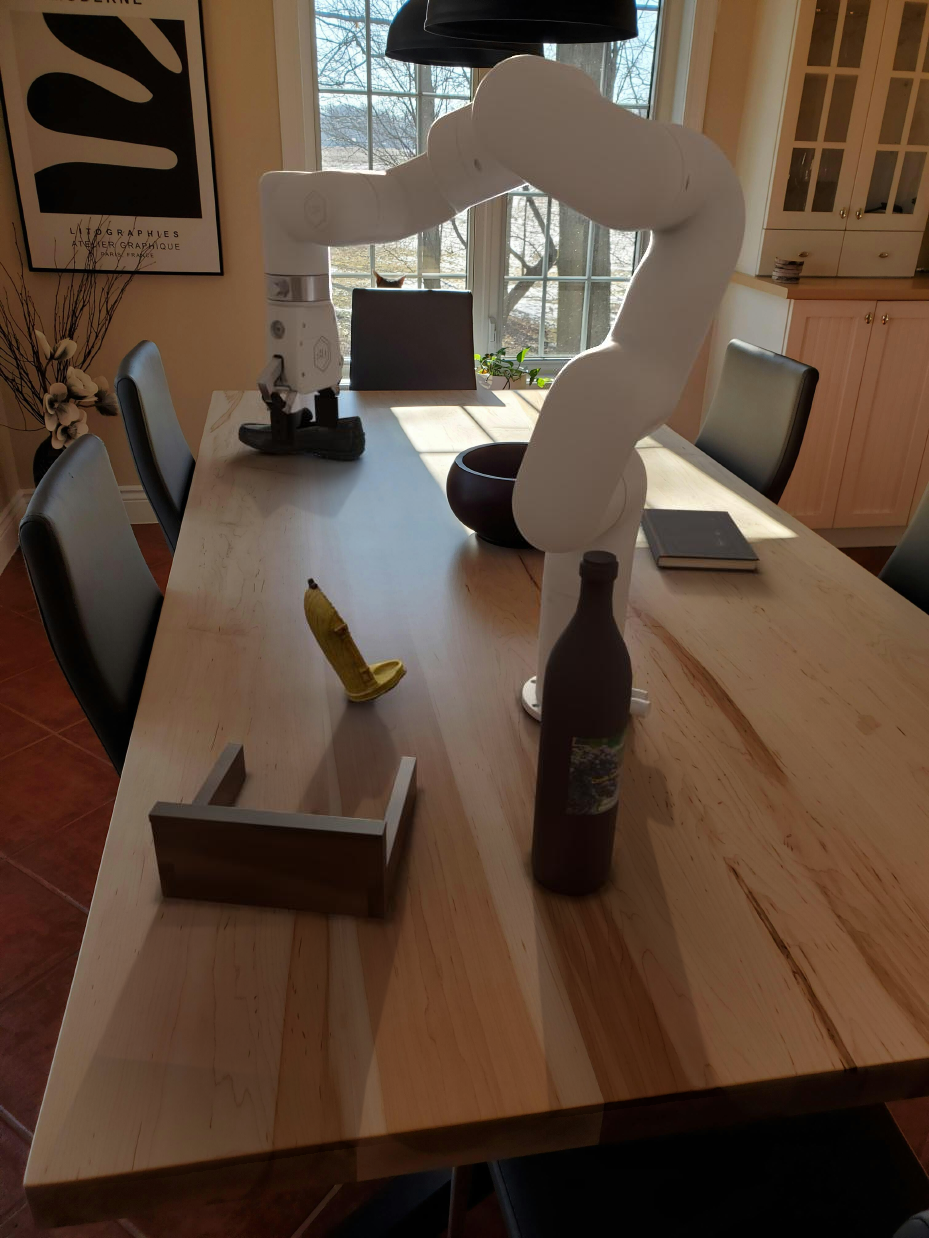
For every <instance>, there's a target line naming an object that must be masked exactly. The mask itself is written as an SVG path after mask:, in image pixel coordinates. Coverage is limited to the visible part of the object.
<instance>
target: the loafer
mask: <svg viewBox="0 0 929 1238" xmlns="http://www.w3.org/2000/svg"><path fill="white" fill-rule="evenodd" d="M294 412H295V419H296V435H297V444H296V445H295V446H286V445H279V444H274V443H273V442H272V435H271V423H257V422H244V423H242V424H240V426H239V428H238V432H237V435H238V440H239V442H241V443H242V444H244V445H245V446H247V447H250V448H252V449H254V450H258V451H260V452H264V453H268V454H273V455H283V456H290V455H295V454H296V455H297V454H310V455H315V456H318V457H320V458H323V459H329V460H336V461H339V460H341V461H346V462H348V461H352V460H355V459H357V458H360V457H362V455H363V454H364V452H365V450H366V437H365V436H366V432H365V431H364V428H363V422H362V419H361V417H360V415H355V416H354V415H353V416H348V417H339V427H338V428H335V429H334V428H326V427H319V426H317V425H316V422H315V420H313V419H314V415H313V412H312V411H311V410H310V408H308V407H307V406H305V407H302V408H300V409H297V410H296V411H294Z"/></svg>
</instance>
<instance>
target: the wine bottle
mask: <svg viewBox="0 0 929 1238" xmlns="http://www.w3.org/2000/svg"><path fill="white" fill-rule="evenodd" d="M616 559H617V558H616V556H615V555H614V554H612V553H610V552H607V551H600V550H594V551H588V552H586V553H584V554H583V558H581V559H580V565H579V575H580V577H581V586H580V596H579V600H578V604H577V609H576V612H575V613H574V615H573V617H572V619H571V620H570V622H569V624H568V625H567V626H566V628H565V629H564V630H563V632H562V633H561V635H560V636H559V637H558V639H557V641H556V643H555V644H554V646H553V648H552V650H551V652H550V655H549V658H548V661H547V664H546V668H545V675H544V682H543V694H542V708H541V721H540V723H539V725H540V726H539V737H538V741H539V742H538V753H537V767H536V778H535V779H536V780H535V795H534V808H533V809H534V810H533V812H534V813H533V821H532V822H533V823H532V836H531V837H532V838H531V851H530V865H531V869H532V873H533V875H534V877H535V878H536V879H537V880H538V882H539V883H541V884H542V885H543V886H544V887H546V888H547V889H549V890H551V891H554V892H556V893H560V894H564V895H574V896H576V895H577V896H578V895H587V894H590V893H592V892H595V891H597V890H599V889H600V888H601V887H602V886H604V885H605V883H606V882H607V880H608V878H609V876H610V873H611V867H612V860H613V853H614V843H615V834H616V827H617V819H618V810H619V802H620V793H621V786H622V777H623V770H624V761H625V752H626V746H627V745H626V743H627V736H628V728H629V720H630V713H629V712H630V704H631V696H632V688H633V677H634V675H633V668H632V659H631V656H630V652H629V651H628V646H627V644H626V641H625V640H624V638H622V636H621V634H620V632H619V629H618V627H617V624H616V621H615V618H614V616H613V601H612V597H613V587H614V580H615V579H616V578H617V576H618V567H619V563H618V561H617V560H616Z"/></svg>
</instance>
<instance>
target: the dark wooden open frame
mask: <svg viewBox="0 0 929 1238" xmlns="http://www.w3.org/2000/svg"><path fill="white" fill-rule="evenodd" d="M417 763H418V758H417V757H410V756H401V759H400V762H399V765H398V769H397V772H396V776H395V779H394V782H393V785H392V789H391V792H390V796H389V799H388V802H387V806H386V810H385V812H384V816H383V819H382V820H379V819H369V818H355V817H346V816H345V817H344V816H333V815H322V814H321V815H320V814H311V813H298V812H289V811H276V810H265V809H253V808H242V807H231V805H232V803H233V802H234V800H235V798H236V796H237V794H238V792H239V791H240V788H241V787H242V785H243V783H244V781H245V779H246V778H247V770H246V761H245V750H244V744H243V743H238V742H237V743H236V742H228V743H227V745H226V746H225V748H224V749H223V751H222V753H221V755H220V756H219V758H218V759H217V761H216V763H215V764H214V766H213V768H212V769H211V771H210V772H209V774H208V776H207V777H206V779H205V781H204V782H203V784H202V785H201V787H200V789H199V790H198V791H197V794H196V795H195V796H194V798H193V800H192V801H191V803H186V802H185V803H182V802H171V801H159V800H157V801H156V802H155V804H154V805H153V807H152V808H151V810H150V811H149V812H148V815H147V817H148V822H149V823H150V827H151V834H152V838H153V840H152V841H153V846H154V852H155V858H156V865H157V871H158V878H159V883H160V890H161V896H162V897H163V898H166V899H167V898H169V899H179V900H189V901H199V902H209V903H222V904H231V905H241V906H251V907H252V906H253V907H262V908H274V909H282V910H295V911H304V912H315V913H325V914H335V915H346V916H355V917H356V916H357V917H365V918H378V919H385V917H386V914H387V910H388V906H389V901H390V898H391V893H392V890H393V887H394V882H395V878H396V873H397V870H398V867H399V862H400V860H401V859H400V858H401V854H402V850H403V845H404V842H405V838H406V835H407V831H408V827H409V823H410V818H411V816H412V815H411V814H412V812H413V811H412V810H413V807H414V803H415V800H416V799H415V798H416V794H417V792H418V783H417V782H418V777H417V775H418V773H417V772H418V769H417V768H418V764H417Z"/></svg>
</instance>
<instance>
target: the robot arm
mask: <svg viewBox="0 0 929 1238" xmlns="http://www.w3.org/2000/svg"><path fill="white" fill-rule="evenodd" d="M527 185H529V186H531V187H532V188H534V189H536V190H538V191H539V192H541V193H543V194H544V195H546V196H548V197H549V198H551V199H553V200H554V201H557V202H558V203H560V204H561V205H563V206H565V207H566V208H568V209H570V210H571V211H573V212H574V213H577V214H578V215H579V216H581V217H583V218H586V220H588V221H590V222H592V223H595V224H596V225H599V226H601V227H603V228H606V229H608V230H612V231H616V232H622V233H634V232H635V233H636V232H646V231H650V239H649V244H648V247H647V249H646V252H645V253H644V255H643V257H642V259H641V261H640V262H639V264H638V265H637V268H636V270H635V271H634V273H633V275H632V277H631V278H630V280H629V283H628V285H627V287H626V290H625V293H624V296H623V299H622V302H621V305H620V307H619V309H618V312H617V314H616V317H615V319H614V321H613V324H612V326H611V328H610V330H609V333H608V334H607V336H606V338H605V340H604V341H603V342H602V343H601V344H600V345H599V346H595V347H593V348H590V349H587V350H585V351H582V352H581V353H579V354H577V355H576V356H574V357H573V358H572V359H571V360H569V361H568V362H567V363H566V364H565V365H564V366H563V367H562V369H561V370H560V371H559V372H558V374H557V375H556V377H555V378H554V380H553V382H552V383H551V385H550V387H549V389H548V391H547V393H546V395H545V398H544V400H543V403H542V406H541V408H540V411H539V415H538V417H537V418H536V419H537V420H536V422H535V425H534V428H533V431H532V433H531V437H530V439H529V441H528V444H527V447H526V450H525V452H524V455H523V458H522V460H521V464H520V467H519V469H518V471H517V475H516V478H515V481H514V486H513V489H512V497H511V504H512V505H511V507H512V514H513V515H512V516H513V518H514V522H515V524H516V527H517V529H518V531H519V533H520V534H521V535H522V537H523V538H524V539H525V541H526V542H528V544H530V545H531V546H532V547H534V548H535V549H537V550H539V551H541V552H545V554H544V561H543V574H542V586H541V599H540V615H539V628H538V629H539V631H538V642H537V643H538V645H537V660H536V673H535V674H536V675H534V676H533V677H531V678H530V679H529V680H527V681H526V682H525V683H524V685H523V686H522V690H521V703H522V706H523V708H524V709H525V711H526V712H527V713H528V715H530V716H531V717H533V718H534V719H535V720H537V721H539V722H541V708H542V694H543V682H544V675H545V668H546V664H547V661H548V658H549V655H550V652H551V650H552V648H553V646H554V644H555V643H556V641H557V639H558V637H559V636H560V635H561V633H562V632H563V630H564V629H565V628H566V626H567V625H568V624H569V622H570V620H571V619H572V617H573V615H574V613H575V612H576V609H577V604H578V600H579V596H580V586H581V577H580V575H579V565H580V559H581V558H583V554H584V553H586V552H588V551H594V550H600V551H607V552H610V553H612V554H614V555H615V556H616V558H617V559H616V560H617V561H618V563H619V567H618V576H617V578H616V579H615V580H614V587H613V597H612V601H613V616H614V618H615V621H616V624H617V627H618V629H619V632H620V634H621V636H622V638H623V639H625V638H624V637H625V628H626V619H627V613H628V611H627V610H628V603H629V593H630V588H631V580H632V571H633V564H634V557H635V551H636V545H637V540H638V535H639V530H640V527H641V519H642V515H643V511H644V508H645V505H646V501H647V500H646V499H647V495H648V474H647V469H646V466H645V463H644V460H643V458H642V456H641V455H640V453H639V451H638V450H637V449H636V448H635V447H636V446H637V444H638V443H639V442H640V441H641V440H643V439H645V438H647V437H649V436H650V435H652V434H653V433H655V432H657V431H658V430H659V429H661V428H662V427H663V426H664V425H665V424H666V423H667V422H668V421H669V420H670V419H671V417H672V416H673V414H674V413H675V410H676V408H677V406H678V404H679V401H680V399H681V396H682V393H683V392H684V389H685V386H686V384H687V382H688V379H689V377H690V374H691V372H692V370H693V368H694V366H695V363H696V361H697V359H698V357H699V355H700V352H701V350H702V348H703V345H704V343H705V341H706V339H707V337H708V334H709V331H710V329H711V326H712V323H713V321H714V319H715V316H716V314H717V312H718V309H719V308H720V305H721V303H722V301H723V298H724V296H725V294H726V291H727V289H728V287H729V285H730V282H731V280H732V278H733V275H734V273H735V270H736V267H737V265H738V261H739V258H740V254H741V251H742V249H743V244H744V239H745V230H746V202H745V196H744V191H743V188H742V185H741V182H740V179H739V177H738V174H737V172H736V170H735V168H734V166H733V165H732V163H731V161H730V160H729V159H728V156H727V155H726V154H725V153H724V152H723V150H722V149H721V148H720V147H719V146H718V145H717V144H716V142H714V141H713V140H711V138H709V137H708V136H707V135H705V134H704V133H702V132H701V131H699V130H696V129H694V128H691V127H690V126H687V125H684V124H679V123H675V122H670V121H662V120H660V121H659V120H656V119H651V118H646V117H643V116H641V115H639V114H637V113H635V112H633V111H631V110H628V109H627V108H624V107H623V106H621V105H619V104H617V103H615V102H613V101H611V100H610V99H607V98H606V97H604V96H603V95H602V91H601V90H600V89H599V86H598V84H597V83H596V82H595V81H594V79H593V78H592V77H591V76H590V75H589V74H588V73H587V72H586V71H584V70H582V69H580V68H579V67H577V66H574V65H572V64H568V63H566V62H563V61H559V60H554V59H550V58H546V57H543V56H539V55H533V54H520V55H514V56H512V57H508V58H506V59H504V60H502V61H501V62H498V63H496V65H495V66H493V68H491V69H490V70H489V71H488V72H487V73H486V75H485V76H484V77H483V78H482V79H481V82H480V83H479V85H478V87H477V89H476V92H475V95H474V97H473V101H471V102H469V103H467V104H465V105H462V106H461V107H458V108H456V109H454V110H452V111H449V112H447V113H444V114H443V115H441V116H439V117H438V118H436V119H435V120H434V121H433V122H432V123H431V125H430V127H429V130H428V133H427V138H426V150H425V151H424V152H423V153H421V154H419V155H416V156H415V157H413V158H410V159H407V160H406V161H404V162H402V163H398V164H396V165H394V166H391V167H390V168H386V169H383V170H380V171H379V170H364V169H361V170H360V169H359V170H358V169H325V170H324V169H323V170H318V171H313V172H311V171H292V170H291V171H289V170H281V171H278V170H277V171H273V170H272V171H268V172H265V173H263V175H261V177H260V179H259V182H258V199H259V212H260V213H259V214H260V227H261V238H262V239H261V241H262V255H263V256H262V257H263V267H264V268H263V269H264V283H265V301H266V314H265V333H264V334H265V336H264V345H265V347H264V348H265V368H264V369H263V370H262V372H261V373H260V374H259V375H258V377H257V378H256V385H257V387H258V390H259V392H260V395H261V401H263V403H264V404H265V409H266V411H267V412H269V419H270V420H269V421H270V424H271V435H272V442H273V443H274V444H279V445H286V446H295V445H296V444H297V435H296V419H295V412H296V411H292V410H293V406H294V404H295V401H296V398H297V396H298V394H299V395H310V394H312V393H316V394H314V395H313V399H314V401H313V402H314V418H315V419H314V421H315V422H316V425H317V426H319V427H326V428H334V429H335V428H338V427H339V418H340V415H339V414H340V413H339V412H340V411H339V396H340V393H341V389H340V384H341V382H342V379H343V367H344V362H345V358H344V356H343V355H342V353H341V341H340V333H339V325H338V319H337V313H336V308H335V304H334V301H333V300H332V298H333V297H332V281H331V279H332V275H331V252H330V248H347V247H348V248H349V247H350V248H351V247H359V246H373V245H374V246H375V245H386V244H391V243H395V242H399V241H403V240H405V239H408V238H410V237H413V236H415V235H417V234H420V233H423V232H426V231H429V230H432V229H433V228H436V227H438V226H441V225H443V224H445V223H447V222H449V221H451V220H453V219H455V218H456V217H458V216H460V215H461V214H464V213H465V212H466V211H467V210H469V208H471V207H474V206H476V205H479V204H481V203H483V202H486V201H489V200H491V199H494V198H496V197H499V196H501V195H504V194H507V193H509V192H511V191H514V190H517V189H519V188H522V187H525V186H527ZM281 395H285V397H284V398H283V397H282V396H281ZM648 698H649V692H648V691H645V690H642V689H640V688H634V687H632V696H631V704H630V712H629V715H632V716H636V717H638V718H642V719H644V720H646V719H647V718H648V717H649V715H650V713H651V709H652V702H650V701H649V699H648Z"/></svg>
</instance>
